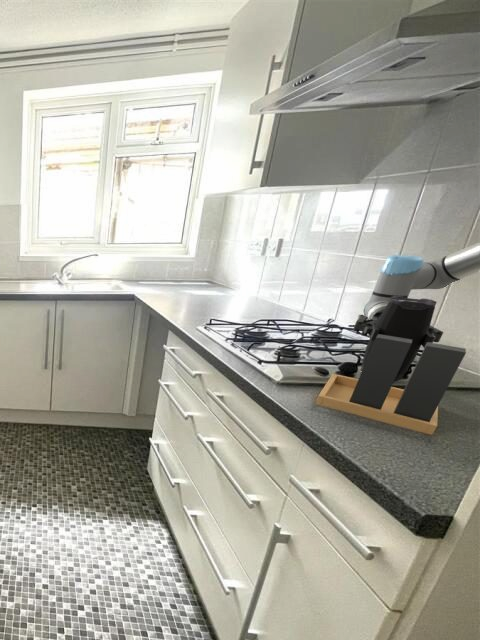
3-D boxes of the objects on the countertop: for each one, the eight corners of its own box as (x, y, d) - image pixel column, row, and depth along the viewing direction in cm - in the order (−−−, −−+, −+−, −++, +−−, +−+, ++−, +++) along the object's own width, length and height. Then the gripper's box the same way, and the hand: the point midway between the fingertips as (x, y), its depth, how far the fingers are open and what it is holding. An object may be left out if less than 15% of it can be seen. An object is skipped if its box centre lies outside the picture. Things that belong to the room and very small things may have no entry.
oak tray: (432, 408, 91) (438, 397, 90) (430, 438, 79) (437, 426, 78) (328, 383, 103) (333, 373, 101) (314, 406, 91) (318, 395, 90)
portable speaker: (389, 384, 101) (425, 304, 92) (347, 370, 109) (377, 296, 101) (413, 380, 103) (451, 302, 95) (371, 367, 111) (402, 294, 103)
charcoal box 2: (425, 424, 83) (465, 348, 76) (425, 429, 81) (466, 352, 74) (391, 415, 86) (427, 342, 80) (390, 420, 84) (426, 345, 78)
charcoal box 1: (378, 412, 87) (412, 339, 81) (377, 417, 85) (411, 343, 79) (348, 404, 91) (378, 333, 84) (345, 408, 89) (376, 337, 82)
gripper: (435, 338, 110) (458, 363, 94) (333, 325, 122) (337, 345, 105) (449, 310, 107) (475, 331, 90) (342, 299, 119) (348, 316, 102)
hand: (401, 338), depth 98 cm, fingers closed on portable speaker, 8 cm apart
